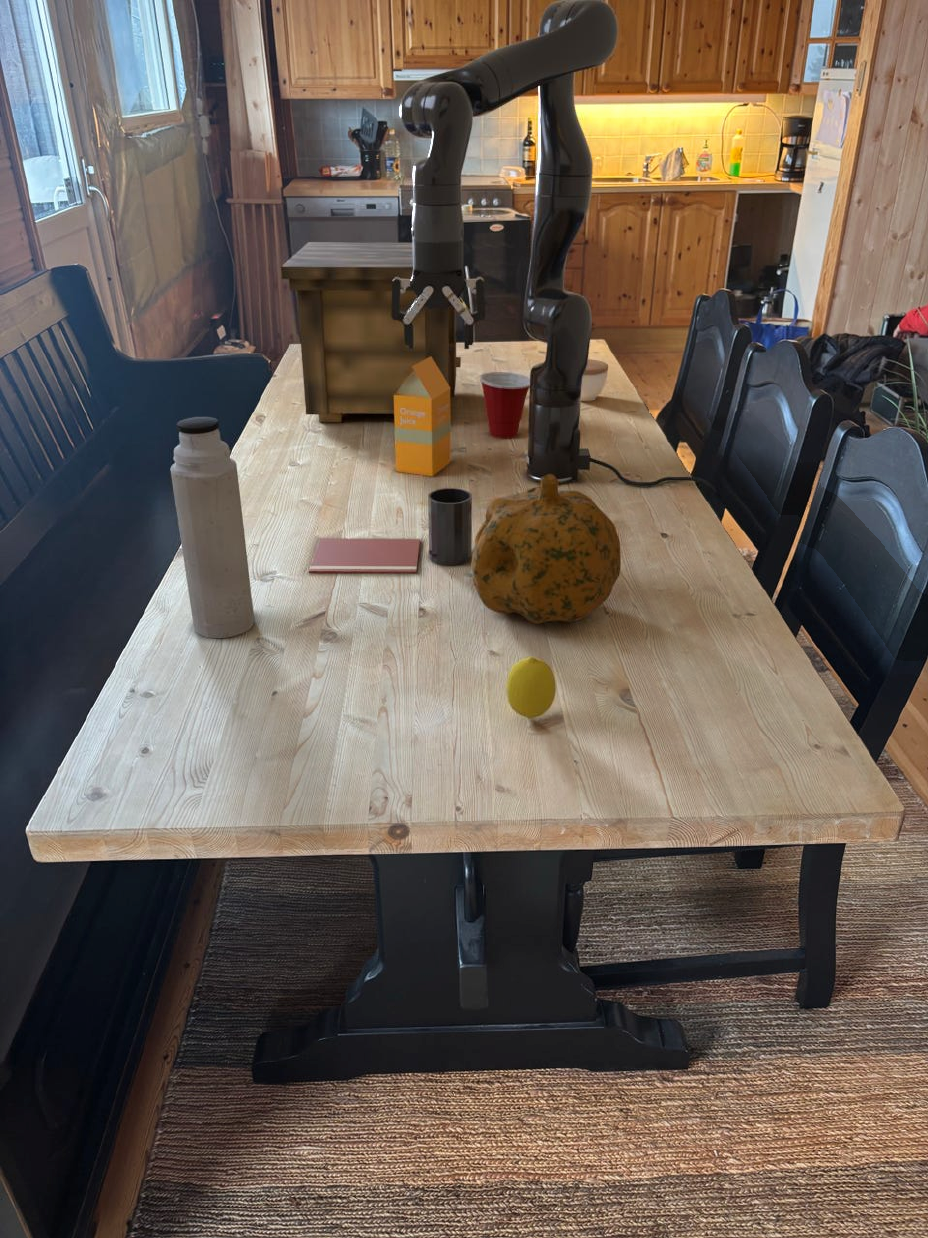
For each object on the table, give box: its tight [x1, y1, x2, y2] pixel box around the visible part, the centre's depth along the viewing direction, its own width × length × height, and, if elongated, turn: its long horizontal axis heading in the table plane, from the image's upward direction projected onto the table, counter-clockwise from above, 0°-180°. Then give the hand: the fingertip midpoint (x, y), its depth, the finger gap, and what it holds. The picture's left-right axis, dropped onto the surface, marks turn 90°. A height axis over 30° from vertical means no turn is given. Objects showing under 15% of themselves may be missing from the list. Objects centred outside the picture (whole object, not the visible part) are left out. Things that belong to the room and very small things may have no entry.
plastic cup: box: [479, 371, 530, 439], centre depth 202 cm, size 11×11×12 cm
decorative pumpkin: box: [470, 474, 622, 625], centre depth 132 cm, size 20×21×20 cm
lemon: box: [505, 656, 557, 720], centre depth 110 cm, size 6×6×8 cm
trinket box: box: [581, 358, 609, 402], centre depth 227 cm, size 11×11×9 cm
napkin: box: [308, 538, 421, 574], centre depth 151 cm, size 16×12×1 cm
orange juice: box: [393, 356, 452, 477], centre depth 183 cm, size 8×9×20 cm
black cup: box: [427, 487, 473, 567], centre depth 149 cm, size 6×6×10 cm
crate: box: [280, 241, 462, 423], centre depth 216 cm, size 35×35×33 cm
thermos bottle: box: [170, 416, 255, 639], centre depth 125 cm, size 8×8×28 cm
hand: (439, 348), depth 152 cm, fingers open, 8 cm apart
